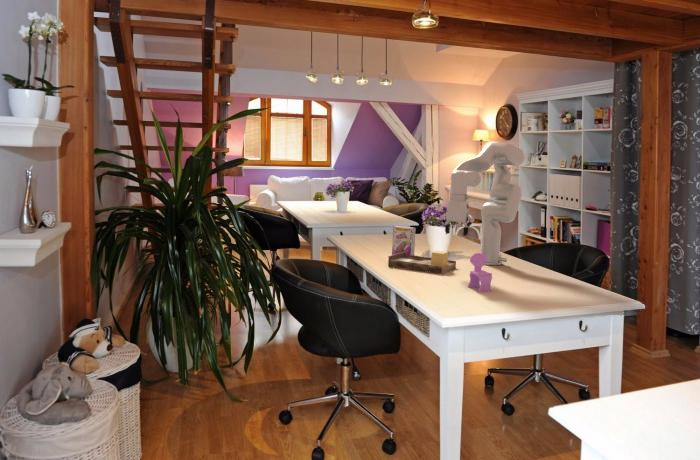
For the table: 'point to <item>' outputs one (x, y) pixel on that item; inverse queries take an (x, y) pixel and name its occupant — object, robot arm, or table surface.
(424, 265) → the brown wooden tray
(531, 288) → the table surface
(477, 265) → the toy chair
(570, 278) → the table surface
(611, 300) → the table surface
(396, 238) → the candy bar box
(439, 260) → the block
